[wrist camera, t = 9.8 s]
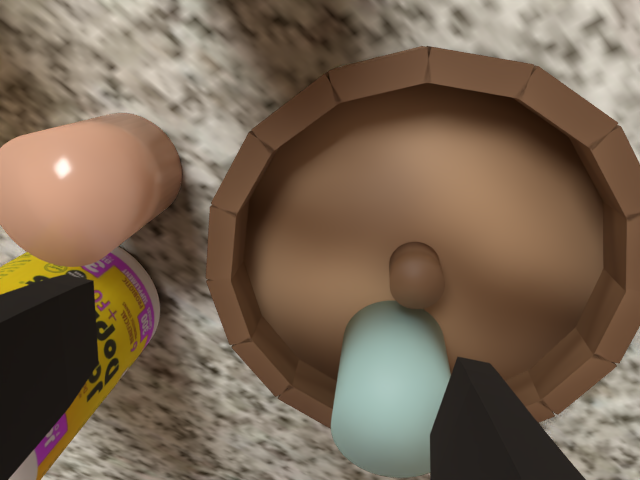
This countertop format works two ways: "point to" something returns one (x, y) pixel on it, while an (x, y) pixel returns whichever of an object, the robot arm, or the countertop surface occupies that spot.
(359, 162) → the tray
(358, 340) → the pale teal rounded piece
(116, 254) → the supplement bottle
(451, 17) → the countertop surface
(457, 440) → the robot arm
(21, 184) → the smooth rounded cylinder peach
